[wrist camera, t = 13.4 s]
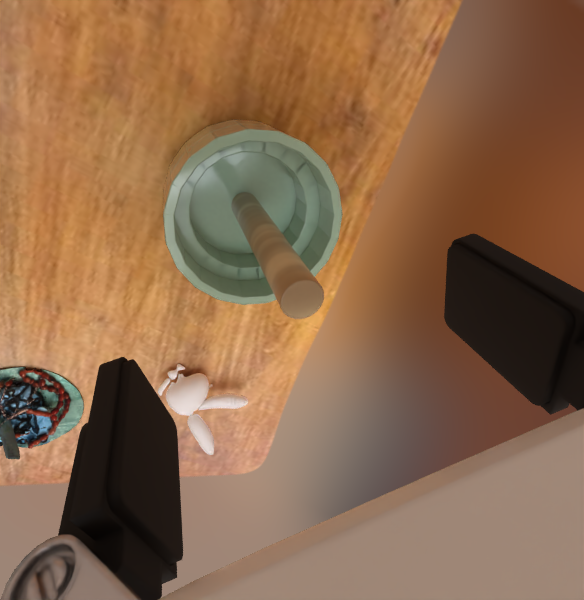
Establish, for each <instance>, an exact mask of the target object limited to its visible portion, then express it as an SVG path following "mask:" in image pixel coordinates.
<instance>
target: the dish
mask: <svg viewBox="0 0 584 600" xmlns="http://www.w3.org/2000/svg"><path fill="white" fill-rule="evenodd" d="M25 368H26V367H20V368H10V369H5V370H0V446H2V445H3V448H4V451H5V455H6V458H8V459H20V454H19V448H18V447H25V448H27V447H28V448H32V447H34V446H39V445H43V444H46V443H48V442H50V441H52V440H54V439H56V438H58V437H60V436H61V435H63V434H65V433H67V432H68V431H70V430H71V429H72V428H73V427H75V426H76V425H77V424H78V422H79V420H80V418H81V416H82V413H83V400H82V398H81V395H80V393H79V391H78V390H77V389H76V388H75V387H74V386H73V385H72V384H70V383H69V382H68V381H67V380H65V379H64V378H62V377H61V376H59V375H57V374H55V373H52V372H49V371H46V370H42V369H40V370H41V372H37V371H36V370H35V369H36V368H34V370H31V371H27V370H25Z"/></svg>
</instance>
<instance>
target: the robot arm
mask: <svg viewBox="0 0 584 600" xmlns="http://www.w3.org/2000/svg"><path fill="white" fill-rule="evenodd" d="M444 318H445V321H446V324H447V325H448V327H449V328H450V329H452V331H454V332H455V333H456V334H457V335H458V336H459V337H460V338H461V339H463V341H465V342H466V343H467V344H468V345H469V346H470V347H471V348H472V349H473V350H474V351H476V352H477V353H478V354H479V355H480V356H481V357H482V358H483V359H484V360H485V361H487V362H488V363H489V364H490V365H491V366H492V367H493V368H494V369H495V370H496V371H497V372H498V373H500V374H501V375H502V376H503V377H504V378H505V379H506V380H507V381H508V382H509V383H511V384H512V385H513V386H514V387H515V388H516V389H517V390H518V391H519V392H520V393H521V394H523V395H524V396H525V397H526V398H527V399H528V400H529V401H530V402H532V403H533V404H535V405H538V406H541V407H543V408H544V409H545V410H546V411H547V412H548V413H549V414H553V413H556V412H558V411H560V410H562V409H565V408H567V407H568V406H569V403H570V404H571V405H572V406H573V407H575V408H576V409H577V411H576V412H573V413H571V414H569V415H566V416H564V417H562V418H559V419H557V420H555V421H552V422H550V423H548V424H546V425H543V426H541V427H539V428H536V429H534V430H532V431H529V432H527V433H525V434H522V435H520V436H518V437H515V438H513V439H511V440H509V441H506V442H504V443H502V444H499V445H497V446H495V447H492V448H490V449H488V450H485V451H483V452H481V453H479V454H476V455H474V456H472V457H470V458H467V459H465V460H463V461H461V462H458V463H456V464H454V465H451V466H449V467H447V468H444V469H442V470H440V471H437V472H435V473H433V474H431V475H428V476H426V477H424V478H421V479H420V480H417V481H415V482H412V483H410V484H408V485H406V486H403V487H401V488H399V489H397V490H394V491H392V492H390V493H387V494H385V495H383V496H381V497H378V498H376V499H374V500H371V501H369V502H367V503H365V504H362V505H360V506H358V507H356V508H353V509H351V510H349V511H347V512H344V513H342V514H340V515H338V516H335V517H333V518H331V519H329V520H326V521H324V522H322V523H320V524H317V525H315V526H313V527H311V528H309V529H306V530H304V531H302V532H299V533H297V534H295V535H293V536H291V537H288V538H286V539H284V540H281V541H279V542H277V543H275V544H273V545H270V546H268V547H266V548H264V549H261V550H259V551H257V552H255V553H253V554H251V555H249V556H246V557H244V558H242V559H240V560H238V561H236V562H233V563H231V564H229V565H227V566H225V567H223V568H221V569H218V570H216V571H214V572H212V573H210V574H208V575H206V576H203V577H201V578H199V579H197V580H195V581H193V582H191V583H189V584H187V585H185V586H184V587H181V588H180V589H178V590H176V591H174V592H172V593H170V594H168V595H167V596H164V597H162V598H161V596H162V584H163V583H166V582H168V581H170V580H172V579H175V578H177V565H176V562H177V561H180V560H181V559H182V556H183V541H182V520H181V502H180V501H181V500H180V480H179V459H178V439H177V429H176V425H175V422H174V420H173V418H172V417H171V415H170V414H169V412H168V411H167V409H166V408H165V406H164V404H163V403H162V401H161V400H160V398H159V397H158V395H157V394H156V392H155V391H154V389H153V387H152V386H151V384H150V383H149V381H148V380H147V378H146V377H145V375H144V374H143V372H142V371H141V369H140V367H139V366H138V364H137V363H136V362H135V360H133V359H132V360H129V361H128V360H127V359H126V358H124V357H121V358H118V359H115V360H112V361H110V362H107V363H104V364H101V365H100V367H99V371H98V376H97V381H96V386H95V391H94V396H93V401H92V406H91V411H90V416H89V421H88V423H86V424H85V425H84V426H83V427H82V429H81V432H80V435H79V440H78V445H77V450H76V454H75V459H74V464H73V468H72V473H71V478H70V482H69V487H68V492H67V496H66V501H65V506H64V511H63V515H62V520H61V525H60V529H59V534H58V536H56V537H53V538H50V539H48V540H46V541H45V542H43V543H41V544H40V545H38V546H37V547H36V548H35V549H34V550H32V551H31V552H30V553H29V554H28V555H27V556H26V557H25V558H24V559H23V560H22V561H21V563H20V564H19V565H18V566H17V568H16V569H15V570H14V572H13V573H12V575H11V577H10V579H9V581H8V582H7V584H6V586H5V589H4V592H3V594H2V597H1V600H584V292H582V291H580V290H578V289H577V288H575V287H573V286H571V285H569V284H567V283H566V282H564V281H562V280H560V279H558V278H556V277H555V276H553V275H551V274H549V273H547V272H545V271H543V270H541V269H539V268H538V267H536V266H534V265H532V264H531V263H529V262H527V261H525V260H523V259H521V258H519V257H517V256H516V255H514V254H512V253H510V252H508V251H506V250H504V249H503V248H501V247H499V246H497V245H495V244H494V243H492V242H489V241H488V240H486V239H484V238H482V237H480V236H478V235H477V234H470V235H468V236H465V237H461V238H459V239H456V240H454V241H453V243H452V245H451V247H449V249H448V254H447V274H446V293H445V313H444Z"/></svg>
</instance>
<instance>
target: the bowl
mask: <svg viewBox="0 0 584 600" xmlns="http://www.w3.org/2000/svg"><path fill="white" fill-rule="evenodd" d="M242 192H248V193H251V194H253V195H254V196H255V197H256V199H257V200H258V201H259V203H260V204H261V205H262V207H263V208H264V210H265V211H266V212H267V214H268V215H269V216H270V218H271V219H272V220H273V222H274V223H275V224H276V226H277V227H278V228H279V230H280V231H281V233H282V234H283V235H284V237H285V238H286V239H287V241H288V242H289V243H290V245H291V246H292V247H293V249H294V250H295V251H296V253H297V254H298V256H299V257H300V258H301V260H302V261H303V262H304V264H305V265H306V266H307V268H308V269H309V270H310V272H311V273H312V274H313V276H314V277H315V276H316V274H317V273H318V272H319V271H320V270H321V269H322V268H323V266H324V265H325V264H326V263H327V261H328V260H329V257H330V255H331V253H332V251H333V249H334V247H335V245H336V243H337V241H338V237H339V231H340V225H341V219H342V208H341V200H340V193H339V188H338V185H337V183H336V181H335V179H334V177H333V175H332V173H331V171H330V169H329V167H328V165H327V164H326V162H325V161H324V160H323V159H322V158H321V157H320V156H319V155H318V154H317V153H316V152H315V151H314V150H313V149H312V148H311V147H310V146H309V145H308V144H306V143H305V142H303V141H301V140H299V139H296V138H294V137H292V136H290V135H288V134H286V133H284V132H282V131H280V130H278V129H276V128H273V127H271V126H269V125H267V124H265V123H262V122H259V121H250V120H237V119H234V120H233V119H232V120H228V121H225V122H221V123H218V124H214V125H210V126H208V127H206V128H204V129H203V130H202V131H200V132H199V133H197V134H196V135H195V136H193V137H192V138H190V139H189V140H188V141H186V143H184V145H183V146H182V148H181V149H180V150H179V152H178V153H177V155H176V156H175V158H174V159H173V161H172V162H171V164H170V166H169V170H168V173H167V177H166V181H165V185H164V189H163V218H164V230H165V241H166V245H167V247H168V249H169V251H170V254H171V256H172V258H173V260H174V262H175V265H176V267H177V268H178V269H179V271H180V272H181V273H182V274H183V275H184V276H185V277H186V278H187V279H188V280H189V281H190V282H191V283H192V284H193V285H194V287H196V288H197V289H199V290H201V291H203V292H205V293H207V294H208V295H210V296H212V297H214V298H216V299H218V300H222V301H227V302H232V303H237V304H242V305H246V304H261V303H268V302H271V301H274V300H277V299H276V297H275V295H274V293H273V291H272V289H271V287H270V285H269V283H268V281H267V279H266V277H265V275H264V273H263V271H262V269H261V267H260V265H259V263H258V261H257V259H256V257H255V255H254V253H253V251H252V249H251V247H250V245H249V243H248V241H247V239H246V237H245V235H244V233H243V231H242V229H241V227H240V225H239V223H238V221H237V219H236V217H235V215H234V213H233V211H232V208H231V204H232V200H233V198H234V197H235V196H236V195H237V194H239V193H242Z"/></svg>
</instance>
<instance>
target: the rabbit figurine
mask: <svg viewBox="0 0 584 600" xmlns="http://www.w3.org/2000/svg"><path fill="white" fill-rule="evenodd" d="M184 369H185V367H184V366H182V365H180V364H177V368H176V370H172V371H169V372H168V376H169V378H170V379H175V378H176V377H177V373H178V371H179V370H184ZM169 378H167V379H165V380H164V381H163V383H162V384H161V386H160V387H159V388H158V393H159V395H161V396H162V392H163V391H164V389H165V388H166V387H167V385H168V384H169V383H170V379H169ZM212 386H213V385H212V384H211V385H209V382H208V379H207V377H206V376H205V374H201V373H196V374H193V375H190V376H188V377H184V375H183V374H178V379H177V382H176V383H174V382H171V384H170V386H169V388H168V390H167V393H166V400H167V402H168V404H169V406H170V407H171V408H172V409H173V410H174V411H175V412H176V413H178V414H180V415H188V416H189V418H188V421H187V424H188V427H189V429H190V430H191V432H192V434H193V435H194V437H195V439H196V440H197V441H198V443H199V445H200V446H201V448H202V449H203V450H204V451H205V452H206V453H207V454H209V455H213V453H214V438H213V435H212V433H211V430H210V429H209V427H208V425H207V424H206V423H205V421H204V420H203V419H202V418H201V417H200V416H199V415H198V414H193V412H194V411H195V410H197V409H198V410H206V409H212V408H231V409H236V408H240V407H243V406H245V405H247V404H248V399H247V398H246V397H244V396H242V395H237V394H219V395H214V396H211V397H209V398H208V399H206V397H207V394H208V391H209V389H210V388H211V387H212ZM192 414H193V415H192Z"/></svg>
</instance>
